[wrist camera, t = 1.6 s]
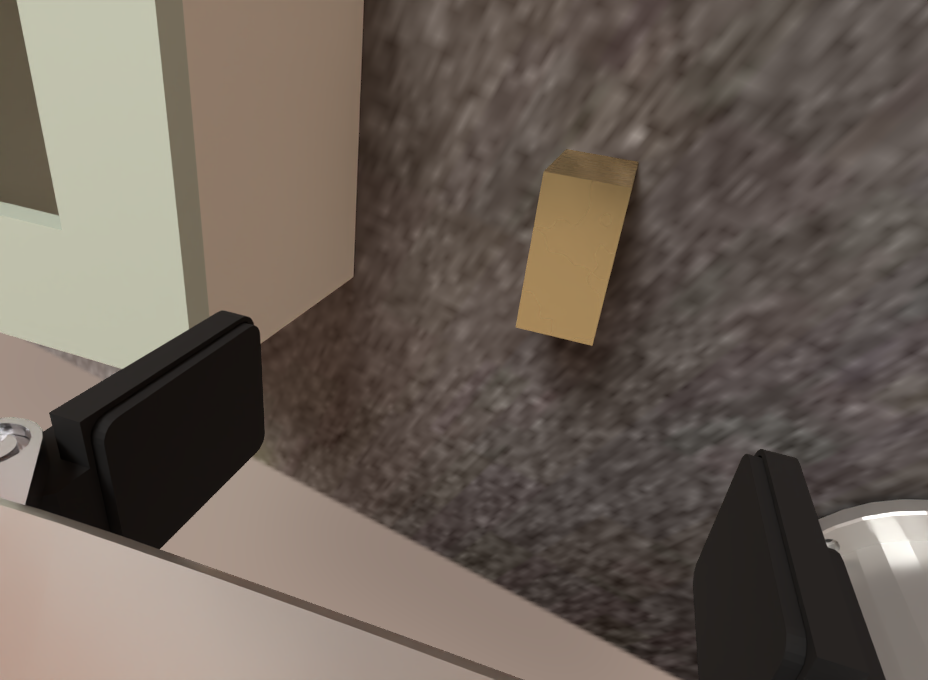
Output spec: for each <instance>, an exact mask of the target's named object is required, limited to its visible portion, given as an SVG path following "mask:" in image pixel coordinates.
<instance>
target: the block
mask: <svg viewBox="0 0 928 680" xmlns="http://www.w3.org/2000/svg"><path fill="white" fill-rule="evenodd" d="M637 166H638V162H636V161H630V160H625V159H619V158H613V157H608V156H602V155H596V154H591V153H585V152H579V151H573V150H568V149H566V150H565V151H564V152H563V153H562V154H561V155H560V156H559V157H558V158H557V159H556V160H555V161H554V162H553V163H552V164H551V165H550V166H549V167H548V168H547V169H546V170H545V171H544V173H543V179H542V184H541V190H540V195H539V201H538V206H537V212H536V217H535V223H534V228H533V234H532V240H531V245H530V251H529V256H528V262H527V267H526V273H525V278H524V284H523V289H522V295H521V300H520V306H519V311H518V317H517V323H516V327H517V328H521V329H525V330H529V331H533V332H537V333H541V334H546V335H550V336H554V337H558V338H562V339H566V340H570V341H575V342H579V343H583V344H587V345H591V346H592V345H593V341H594V337H595V333H596V329H597V325H598V321H599V317H600V313H601V309H602V305H603V301H604V297H605V293H606V290H607V286H608V282H609V278H610V274H611V270H612V266H613V262H614V258H615V254H616V250H617V246H618V242H619V238H620V234H621V230H622V226H623V222H624V218H625V214H626V210H627V206H628V202H629V198H630V194H631V190H632V186H633V182H634V178H635V174H636V170H637Z"/></svg>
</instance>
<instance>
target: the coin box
mask: <svg viewBox="0 0 928 680" xmlns="http://www.w3.org/2000/svg"><path fill="white" fill-rule="evenodd" d="M363 12H364V0H0V333H4V334H7V335H11V336H14V337H17V338H20V339H24V340H27V341H30V342H34V343H37V344H40V345H44V346H47V347H51V348H54V349H57V350H61V351H64V352H67V353H71V354H74V355H77V356H81V357H84V358H87V359H91V360H94V361H97V362H101V363H104V364H108V365H111V366H114V367H118V368H121V369H123V368H125V367H127V366H128V365H130V364H132V363H133V362H135V361H137V360H138V359H140V358H142V357H143V356H145V355H147V354H148V353H150V352H152V351H153V350H155V349H157V348H158V347H160V346H162V345H163V344H165V343H167V342H168V341H170V340H172V339H173V338H175V337H177V336H178V335H180V334H182V333H183V332H185V331H187V330H188V329H190V328H192V327H193V326H195V325H197V324H198V323H200V322H202V321H204V320H205V319H207V318H209V317H210V316H212V315H214V314H215V313H217V312H219V311H222V310H223V311H228V312H232V313H236V314H240V315H244V316H248V317H250V318H251V319H252V320H253V322H254V326H257V327H258V329H259V331H260V343H262V342H264V341H265V340H267V339H268V338H269V337H271V336H272V335H274V334H275V333H276V332H278V331H279V330H281V329H282V328H283V327H285V326H286V325H287V324H289V323H290V322H292V321H293V320H294V319H296V318H297V317H299V316H300V315H301V314H303V313H304V312H306V311H307V310H308V309H310V308H311V307H313V306H314V305H315V304H317V303H318V302H319V301H321V300H322V299H324V298H325V297H326V296H328V295H329V294H331V293H332V292H333V291H335V290H336V289H338V288H339V287H340V286H342V285H343V284H344V283H346V282H347V281H349V280H350V279H351V278H353V277H354V251H355V224H356V198H357V171H358V145H359V118H360V92H361V65H362V39H363Z"/></svg>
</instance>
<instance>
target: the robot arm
mask: <svg viewBox="0 0 928 680" xmlns="http://www.w3.org/2000/svg"><path fill="white" fill-rule="evenodd" d="M49 414H50V418H51V422H52V427H50V428H49V429H47V430H46V431H44V432H43V431H42V429H41V428H40V427H39V425H38V424H37V423H34V422H32V421H30V420H27V419H21V418H14V417H13V418H0V680H523V679H520V678H517V677H515V676H512V675H509V674H506V673H504V672H501V671H498V670H495V669H492V668H490V667H487V666H484V665H482V664H479V663H476V662H473V661H471V660H468V659H465V658H462V657H460V656H456V655H454V654H451V653H449V652H446V651H443V650H440V649H437V648H434V647H432V646H429V645H427V644H424V643H421V642H418V641H416V640H413V639H410V638H407V637H404V636H402V635H399V634H396V633H393V632H391V631H388V630H385V629H382V628H379V627H376V626H374V625H371V624H368V623H365V622H363V621H360V620H357V619H354V618H352V617H349V616H346V615H343V614H340V613H338V612H335V611H332V610H329V609H326V608H324V607H321V606H318V605H315V604H312V603H310V602H307V601H304V600H301V599H298V598H296V597H293V596H290V595H287V594H284V593H282V592H279V591H276V590H273V589H270V588H268V587H265V586H262V585H259V584H256V583H254V582H250V581H248V580H245V579H242V578H239V577H237V576H234V575H231V574H228V573H225V572H222V571H219V570H217V569H214V568H211V567H208V566H205V565H202V564H200V563H197V562H194V561H191V560H188V559H185V558H182V557H180V556H177V555H174V554H171V553H168V552H165V551H162V550H160V548H161V547H162V546H163V545H164V544H165V543H166V542H167V541H168V540H169V539H170V538H171V537H172V536H173V535H174V534H175V533H176V532H177V531H178V530H179V529H180V528H181V527H182V526H183V525H184V524H185V523H186V522H187V521H188V520H189V519H190V518H191V517H192V516H193V515H194V514H195V513H196V512H197V511H198V510H199V509H200V508H201V507H202V506H203V505H204V504H205V503H206V502H207V501H208V500H209V499H210V498H211V497H212V496H213V495H214V494H215V493H216V492H217V491H218V490H219V489H220V488H221V487H222V486H223V485H224V484H225V483H226V482H227V481H228V480H229V479H230V478H231V477H232V476H233V475H234V474H235V473H236V472H237V471H238V470H239V469H240V468H241V467H242V466H243V465H244V464H245V463H246V462H247V461H248V460H249V459H250V458H251V457H252V456H253V455H254V454H255V453H256V452H257V451H258V450H259V449H260V447H261V445H262V443H263V440H264V434H265V430H264V408H263V386H262V365H261V343H260V331H259V329H258V327H257V326H254V322H253V320H252V319H251V318H250V317H248V316H244V315H240V314H236V313H232V312H228V311H223V310H222V311H219V312H217V313H215V314H214V315H212V316H210V317H209V318H207V319H205V320H204V321H202V322H200V323H198V324H197V325H195V326H193V327H192V328H190V329H188V330H187V331H185V332H183V333H182V334H180V335H178V336H177V337H175V338H173V339H172V340H170V341H168V342H167V343H165V344H163V345H162V346H160V347H158V348H157V349H155V350H153V351H152V352H150V353H148V354H147V355H145V356H143V357H142V358H140V359H138V360H137V361H135V362H133V363H132V364H130V365H128V366H127V367H125V368H123V369H122V370H120V371H118V372H117V373H115V374H113V375H111V376H110V377H108V378H106V379H105V380H103V381H101V382H100V383H98V384H97V385H95V386H93V387H92V388H90V389H88V390H86V391H85V392H83V393H81V394H80V395H78V396H76V397H75V398H73V399H71V400H70V401H68V402H66V403H65V404H63V405H61V406H60V407H58V408H57V409H55V410H53V411H51V412H50V413H49ZM693 592H694V608H695V625H696V642H697V658H698V675H699V680H928V500H913V499H900V500H891V501H881V502H872V503H867V504H863V505H859V506H855V507H851V508H847V509H843V510H841V511H838V512H836V513H833V514H831V515H828V516H826V517H823V518H821V519H818V517H817V514H816V511H815V508H814V505H813V502H812V499H811V496H810V493H809V490H808V487H807V484H806V481H805V478H804V475H803V472H802V469H801V466H800V463H799V461H798V459H796V458H794V457H790V456H786V455H782V454H779V453H775V452H771V451H767V450H763V449H760V450H758V451H757V453H756V454H755V456H753V455H749V454H745V455H744V456H743V457H742V459H741V461H740V464H739V466H738V468H737V471H736V473H735V475H734V478H733V480H732V482H731V485H730V487H729V489H728V492H727V494H726V496H725V499H724V501H723V503H722V506H721V508H720V510H719V513H718V515H717V517H716V520H715V522H714V524H713V527H712V529H711V531H710V534H709V536H708V538H707V541H706V543H705V545H704V548H703V550H702V552H701V555H700V557H699V559H698V561H697V564H696V567H695V571H694V578H693Z"/></svg>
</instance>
